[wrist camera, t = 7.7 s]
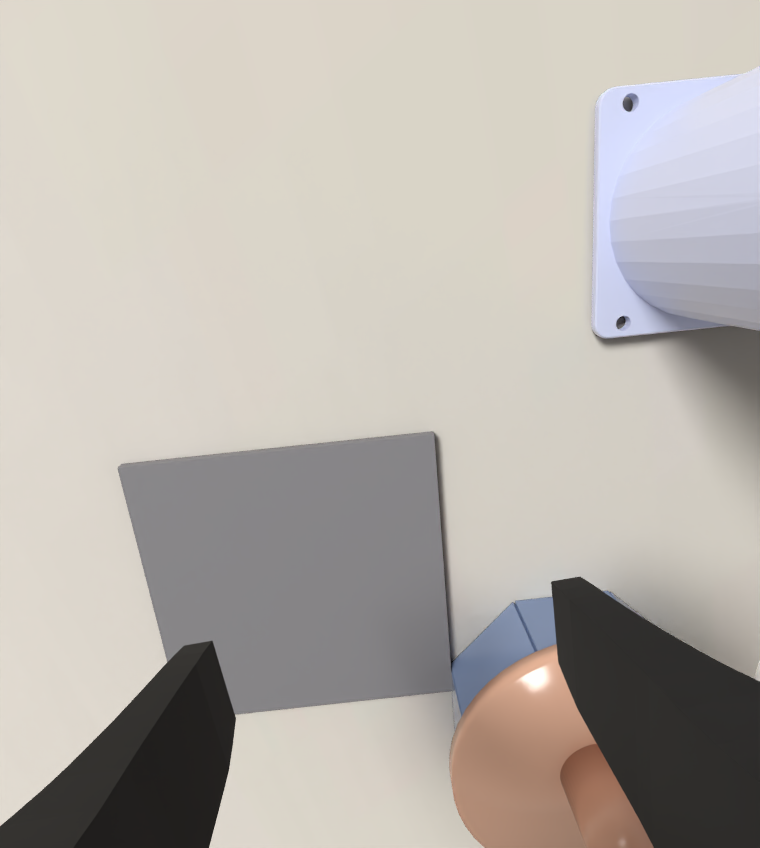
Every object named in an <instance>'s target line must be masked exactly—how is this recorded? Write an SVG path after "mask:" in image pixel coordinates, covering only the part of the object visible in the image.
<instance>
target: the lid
mask: <svg viewBox="0 0 760 848" xmlns="http://www.w3.org/2000/svg"><path fill="white" fill-rule="evenodd" d="M449 770H450V777H451V783H452V789H453V795H454V800H455V803H456V806H457V810H458V813H459V815H460V817H461V819H462V821H463V822H464V824H465V826H466V828H467V829H468V830H469V831H470V833H471V834H472V835H473V837H474V838H475V839H476V840H477V841H478V842H479V843H480V844H481V845H482V846H484V847H485V848H654V847H653V845H652V843H651V841H650V840H649V838H648V836H647V834H646V832H645V830H644V828H643V826H642V824H641V822H640V820H639V818H638V816H637V815H636V813H635V811H634V809H633V807H632V806H631V804H630V802H629V800H628V799H627V797H626V795H625V793H624V791H623V790H622V788H621V786H620V784H619V783H618V781H617V779H616V777H615V775H614V774H613V772H612V770H611V768H610V767H609V765H608V763H607V761H606V759H605V758H604V756H603V754H602V752H601V751H600V749H599V747H598V745H597V743H596V742H595V740H594V738H593V736H592V734H591V733H590V731H589V729H588V727H587V725H586V724H585V722H584V720H583V718H582V716H581V714H580V713H579V711H578V709H577V707H576V704H575V702H574V700H573V697H572V695H571V693H570V690H569V688H568V685H567V683H566V680H565V678H564V676H563V673H562V671H561V668H560V666H559V663H558V655H557V644H555V645H552V646H550V647H547V648H544V649H542V650H539V651H536V652H534V653H532V654H530V655H528V656H526V657H524V658H522V659H520V660H518V661H517V662H515V663H514V664H512V665H511V666H509V667H507V668H506V669H504V670H503V671H501V672H500V673H499V674H498V675H497V676H495V677H494V678H493V679H492V680H491V681H489V682H488V683H487V684H486V685H485V686H484V687H483V688H482V689H481V691H480V692H479V693H478V694H477V695H476V696H475V697H474V698H473V700H472V701H471V703H470V704H469V705H468V707H467V708H466V710H465V711H464V713H463V715H462V717H461V719H460V721H459V722H458V724H457V727H456V730H455V733H454V735H453V738H452V743H451V748H450V755H449Z"/></svg>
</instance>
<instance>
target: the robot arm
mask: <svg viewBox="0 0 760 848" xmlns="http://www.w3.org/2000/svg"><path fill="white" fill-rule="evenodd" d="M625 97H629V98H630V99H631V100H632V102H633V108H632V110H631V111H630V112H628V111H626V110H625V109H624V108H623V104H622V103H623V99H624V98H625ZM621 316H624V317H625V320H626V322H625V325H624V326H623V327H622V328H620V329H618V328H617V326H616V322H617V320H618V318H619V317H621ZM724 326H736V327H741V328H747V329H752V330H757V331H760V66H759V67H757V68H755V69H753V70H751V71H748V72H746V73H744V74H737V75H727V76H717V77H708V78H698V79H688V80H678V81H668V82H658V83H648V84H638V85H628V86H618V87H613V88H610V89H608V90H606V91H605V92H604V93H603V94H601V95H600V96H599V98H598V100H597V102H596V107H595V149H594V209H593V270H592V330H593V332H594V333H595V334H596V335H598V336H599V337H602V338H618V337H627V336H637V335H647V334H656V333H666V332H675V331H685V330H695V329H704V328H714V327H724ZM551 584H552V596H553V608H554V620H555V632H556V644H557V655H558V663H559V666H560V668H561V671H562V673H563V676H564V678H565V680H566V683H567V685H568V688H569V690H570V693H571V695H572V697H573V700H574V702H575V704H576V707H577V709H578V711H579V713H580V714H581V716H582V718H583V720H584V722H585V724H586V725H587V727H588V729H589V731H590V733H591V734H592V736H593V738H594V740H595V742H596V743H597V745H598V747H599V749H600V751H601V752H602V754H603V756H604V758H605V759H606V761H607V763H608V765H609V767H610V768H611V770H612V772H613V774H614V775H615V777H616V779H617V781H618V783H619V784H620V786H621V788H622V790H623V791H624V793H625V795H626V797H627V799H628V800H629V802H630V804H631V806H632V807H633V809H634V811H635V813H636V815H637V816H638V818H639V820H640V822H641V824H642V826H643V828H644V830H645V832H646V834H647V836H648V838H649V840H650V841H651V843H652V845H653V847H654V848H760V681H757V680H755V679H753V678H751V677H749V676H747V675H745V674H743V673H741V672H738V671H736V670H734V669H732V668H730V667H728V666H726V665H724V664H722V663H720V662H718V661H717V660H715V659H713V658H711V657H709V656H707V655H706V654H704V653H702V652H700V651H698V650H696V649H695V648H693V647H691V646H689V645H687V644H686V643H684V642H682V641H680V640H679V639H677V638H675V637H674V636H672V635H670V634H668V633H667V632H665V631H663V630H662V629H660V628H658V627H657V626H655V625H654V624H652V623H650V622H649V621H647V620H646V619H644V618H642V617H641V616H639V615H638V614H636V613H635V612H633V611H631V610H630V609H628V608H627V607H625V606H624V605H622V604H621V603H619V602H618V601H616V600H615V599H613V598H612V597H610V596H609V595H607V594H606V593H604V592H603V591H601V590H600V589H598V588H597V587H595V586H594V585H592V584H591V583H589V582H588V581H586V580H584V579H583V578H581V577H575V578H570V579H564V580H558V581H552V582H551ZM235 721H236V717H235V714H234V711H233V707H232V704H231V701H230V697H229V694H228V691H227V687H226V684H225V681H224V677H223V674H222V671H221V667H220V664H219V661H218V657H217V654H216V651H215V647H214V644H213V641H207V642H201V643H196V644H190V645H184V646H183V647H182V648H181V649H180V650H179V651H178V652H177V653H176V654H175V655H174V656H173V657H172V658H171V659H170V660H169V661H168V662H167V663H166V665H165V666H164V667H163V668H162V669H161V670H160V671H159V672H158V673H157V674H156V675H155V677H154V678H153V679H152V680H151V681H150V682H149V683H148V684H147V685H146V686H145V687H144V689H143V690H142V691H141V692H140V693H139V694H138V695H137V696H136V697H135V698H134V699H133V700H132V701H131V703H130V704H129V705H128V706H127V707H126V708H125V709H124V710H123V711H122V712H121V713H120V714H119V715H118V717H117V718H116V719H115V720H114V721H113V722H112V723H111V724H110V725H109V726H108V727H107V728H106V729H105V730H104V731H103V732H102V733H101V734H100V735H99V736H98V737H97V738H96V739H95V740H94V741H93V742H92V743H91V744H90V745H89V746H88V747H87V748H86V749H85V750H84V751H83V752H82V753H81V754H80V755H79V756H78V757H77V758H76V759H75V760H74V761H73V762H72V763H71V764H70V765H69V766H68V767H67V768H66V769H65V770H64V771H62V772H61V773H60V774H59V775H58V776H57V777H56V778H55V779H54V780H53V781H52V782H51V783H50V784H48V785H47V786H46V787H45V788H44V789H43V790H42V791H41V792H40V793H38V794H37V795H36V796H35V797H34V798H33V799H32V800H30V801H29V802H28V803H27V804H26V805H25V806H23V807H22V808H21V809H20V810H19V811H18V812H17V813H15V814H14V815H13V816H12V817H11V818H10V819H8V820H7V821H6V822H5V823H4V824H2V825H1V826H0V848H209V845H210V841H211V837H212V834H213V830H214V826H215V822H216V819H217V815H218V811H219V807H220V803H221V799H222V795H223V791H224V787H225V783H226V779H227V775H228V771H229V766H230V759H231V752H232V745H233V737H234V729H235Z"/></svg>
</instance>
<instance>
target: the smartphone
mask: <svg viewBox="0 0 760 848" xmlns="http://www.w3.org/2000/svg"><path fill="white" fill-rule="evenodd" d="M755 680H757V681H760V661H759V663H758V666H757V670H756V673H755Z"/></svg>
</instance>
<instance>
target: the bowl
mask: <svg viewBox="0 0 760 848" xmlns="http://www.w3.org/2000/svg"><path fill="white" fill-rule="evenodd" d="M604 593H606V594H607V595H609V596H610V597H612V598H613V599H615V600H616V601H618V602H619V603H621V604H622V605H624V606H625V607H627V608H628V609H630V610H631V611H633V612H635V613H636V614H638V613H637V612H636V611H634V610H633V609H632V608H631V607H629V606H628V605H627V604H626V603H624V602H623V601H622V600H620V599H619V598H618V597H617V596H615V595H614V594H613V593H611V592H610V593H609V592H608V591H604ZM638 615H639V616H641V615H640V614H638ZM641 617H642V616H641ZM642 618H643V617H642ZM644 619H645V618H644ZM555 644H556V632H555V620H554V608H553V597H548V598H538V599H529V600H520V601H515V604H514V603H513V602H512V603H511V604H510V605H509V606H508V607H507V608H506V609H505V610H504V611H503V612H502V613H501V614H500V615H499V616H498V617H497V618H496V619H495V620H494V621H493V622H492V623H491V624H490V625H489V626H488V627H487V628H486V629H485V630H484V631H483V632H482V633H481V634H480V635H479V636H478V637H477V638H476V639H475V640H474V641H473V642H472V643H471V644H470V645H469V646H468V647H467V648H466V649H465V650H464V651H463V652H462V653H461V654H460V655H459V656H458V657H457V658H456V659H455V660H454V661H453V662H452V663H451V674H452V688H453V691H452V701H453V715H454V729H455V730H456V727H457V724H458V722H459V721H460V719H461V717H462V715H463V713H464V711H465V710H466V708H467V707H468V705H469V704H470V703H471V701H472V700H473V698H474V697H475V696H476V695H477V694H478V693H479V692H480V691H481V689H482V688H483V687H484V686H485V685H486V684H487V683H488V682H489V681H491V680H492V679H493V678H494V677H495V676H497V675H498V674H499V673H500V672H501V671H503V670H504V669H506V668H507V667H509V666H511V665H512V664H514V663H515V662H517V661H518V660H520V659H522V658H524V657H526V656H528V655H530V654H532V653H534V652H536V651H539V650H542V649H544V648H547V647H550V646H552V645H555Z"/></svg>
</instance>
